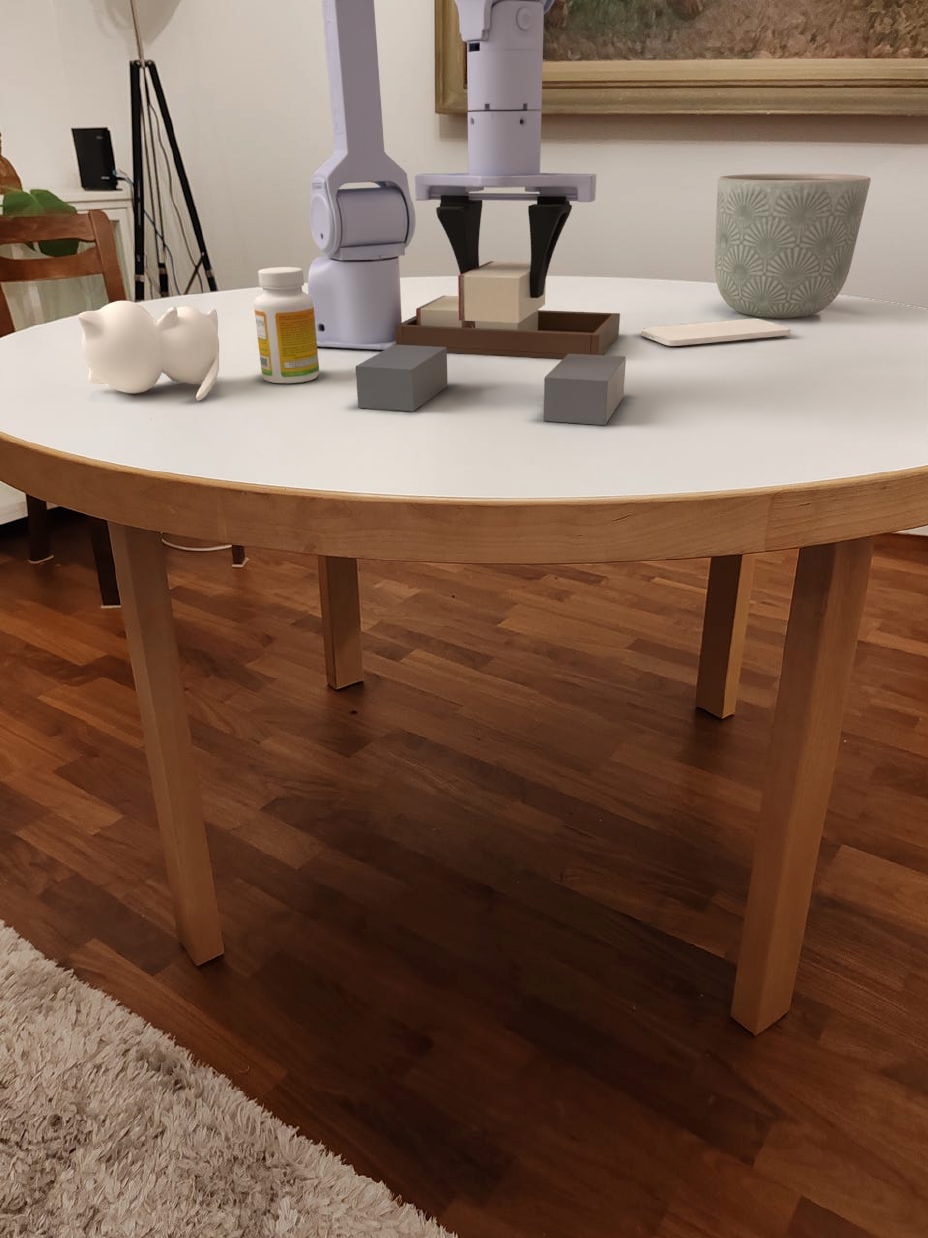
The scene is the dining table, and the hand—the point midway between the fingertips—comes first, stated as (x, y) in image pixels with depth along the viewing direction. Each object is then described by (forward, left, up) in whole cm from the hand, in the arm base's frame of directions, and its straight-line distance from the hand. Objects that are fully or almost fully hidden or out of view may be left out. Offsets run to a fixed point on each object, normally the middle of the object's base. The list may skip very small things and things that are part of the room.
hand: (503, 294), depth 80 cm
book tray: (-5, +21, -8) cm, 23 cm away
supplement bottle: (-21, +1, -8) cm, 23 cm away
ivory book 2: (-6, +21, -8) cm, 23 cm away
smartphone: (+16, +30, -8) cm, 35 cm away
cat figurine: (-30, -7, -8) cm, 32 cm away
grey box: (+8, -3, -8) cm, 12 cm away
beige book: (-12, +21, -8) cm, 26 cm away
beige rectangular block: (0, 0, -1) cm, 1 cm away
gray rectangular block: (-8, -3, -8) cm, 12 cm away
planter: (+22, +47, -8) cm, 52 cm away
